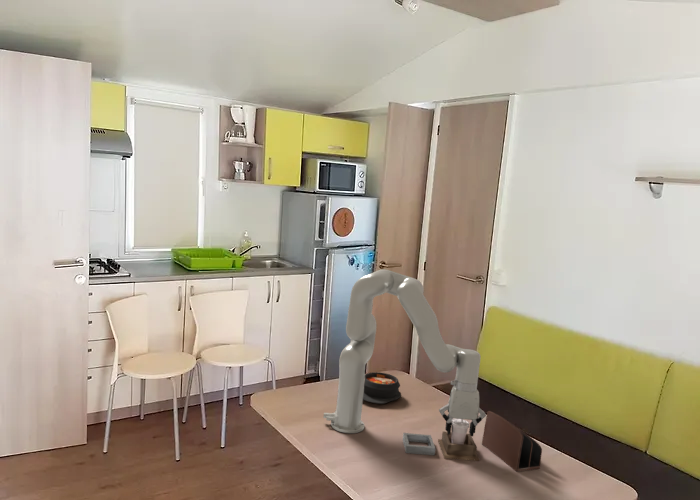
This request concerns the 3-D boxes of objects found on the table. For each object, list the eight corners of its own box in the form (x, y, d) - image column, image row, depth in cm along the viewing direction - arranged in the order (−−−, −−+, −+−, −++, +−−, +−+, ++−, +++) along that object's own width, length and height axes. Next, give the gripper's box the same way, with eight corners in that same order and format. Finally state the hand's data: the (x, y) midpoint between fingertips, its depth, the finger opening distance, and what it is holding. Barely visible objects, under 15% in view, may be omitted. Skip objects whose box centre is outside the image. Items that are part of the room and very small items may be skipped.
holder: (405, 452, 185) (406, 446, 185) (402, 439, 195) (403, 432, 195) (434, 455, 185) (435, 448, 185) (430, 441, 195) (430, 435, 195)
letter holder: (516, 472, 179) (522, 432, 177) (481, 444, 197) (486, 407, 196) (540, 469, 183) (545, 429, 181) (503, 441, 201) (508, 405, 199)
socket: (444, 458, 184) (445, 445, 183) (437, 441, 196) (439, 429, 195) (478, 461, 184) (480, 448, 184) (470, 444, 196) (472, 432, 195)
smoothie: (466, 454, 186) (471, 415, 184) (447, 450, 187) (452, 412, 186) (466, 445, 192) (470, 408, 191) (447, 442, 193) (452, 405, 192)
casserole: (368, 383, 248) (370, 365, 247) (407, 392, 242) (409, 374, 241) (348, 401, 225) (350, 382, 224) (391, 411, 219) (393, 392, 218)
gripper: (442, 387, 183) (437, 436, 185) (493, 391, 184) (487, 440, 186) (439, 379, 191) (433, 426, 193) (487, 383, 191) (481, 431, 193)
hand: (459, 433), depth 189 cm, fingers open, 7 cm apart
